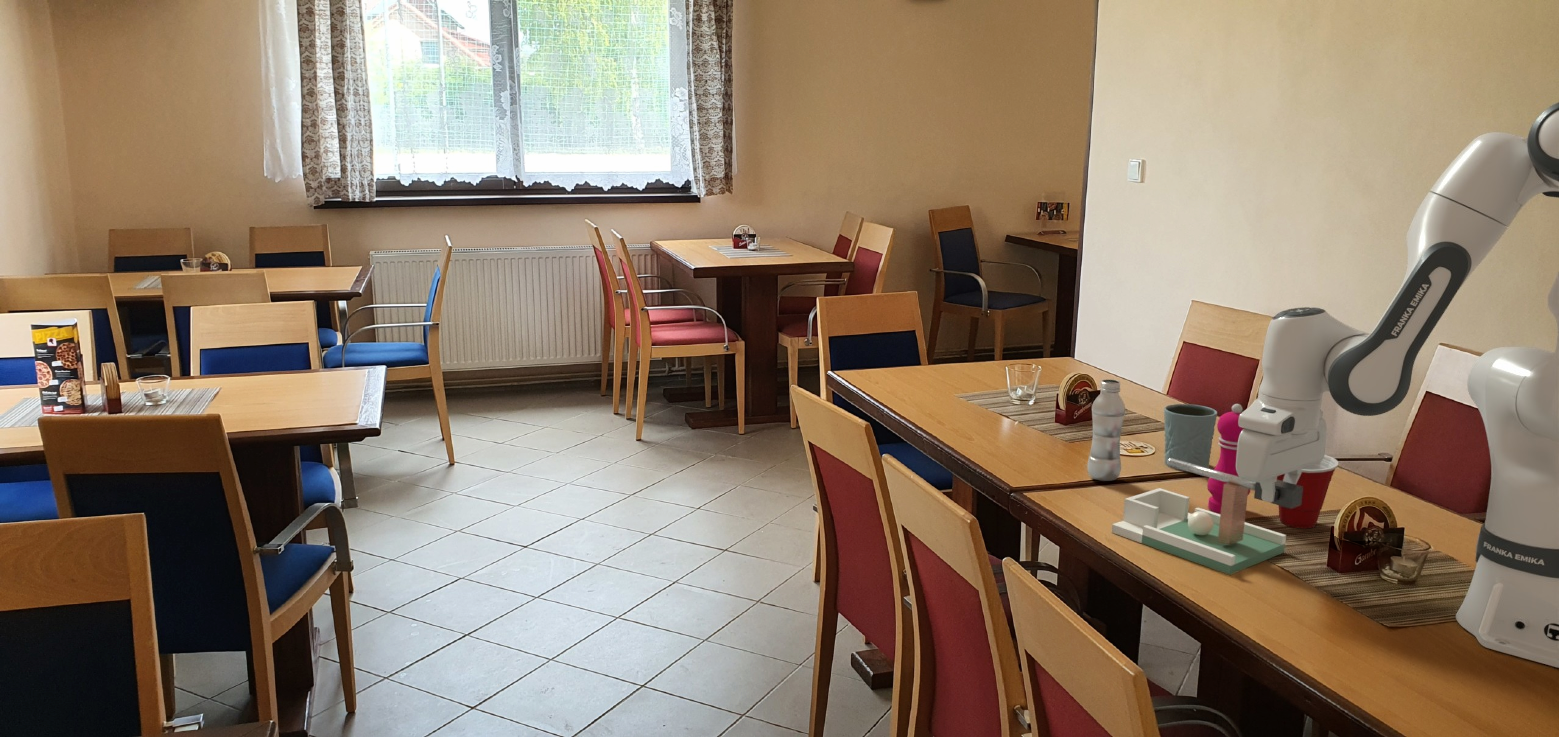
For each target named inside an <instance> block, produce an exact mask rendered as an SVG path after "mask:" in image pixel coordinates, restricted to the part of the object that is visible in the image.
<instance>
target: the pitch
mask: <svg viewBox="0 0 1559 737" xmlns="http://www.w3.org/2000/svg"><path fill="white" fill-rule="evenodd" d="M1123 505H1124V506H1123V515H1122V516H1123V518H1122V521H1118V522H1115V523H1111V533H1112V534H1114V535H1118V536H1120V537H1123V538H1126V539H1129V540H1132V541H1135V542H1136V543H1140V544H1142V545H1145V546H1149V547H1150V548H1154V549H1156V550H1160V551H1161V552H1162V551H1163V552H1165V553H1168V554H1170V555H1171V554H1172V555H1174V556H1175V557H1179V558H1181V559H1184V560H1186V561H1191V562H1193V563H1196V564H1198V565H1201V566H1203V567H1207V568H1210V569H1213V570H1215V571H1218V572H1221V573H1224V574H1226V575H1228V576H1230V575H1233V574H1236V573H1238V572H1240V571H1243V570H1245V569H1248V568H1250V567H1252V566H1254V565H1257V564H1260V563H1262V562H1264V561H1266V560H1269V559H1271V558H1273V557H1276V556H1278V555H1281V554H1284V553H1285V548H1286V539H1287V534H1284V533H1282V532H1277V531H1275V530H1271V529H1269V528H1268V529H1267V528H1264V527H1261V526H1259V525H1255V524H1252V523H1249V522H1246V521H1245V524H1244V533H1243V540H1242V541H1239V542H1236V543H1234V544H1231V545H1227V544H1224V543H1221V542H1218V534H1219V525H1220V515H1221V514H1219V513H1216V512H1213V511H1211V510H1209V509H1208V510H1207V509H1204V508H1201V507H1196V508H1194V513H1195V512H1198V511H1202V512H1205V513H1207V514H1209V515H1210V516H1211V518H1212V519H1213V529H1212V530H1211V532H1210V533H1208V534H1206V535H1196V534H1194V533H1193V532H1192V531H1191V530H1190V529H1189V527H1188V519H1189V517H1190V516H1191V515H1192V514H1193V513H1190V512H1189V508H1190V496H1186V495H1184V494H1183V495H1182V494H1180V493H1177V492H1175V491H1174V492H1173V491H1170V490H1167V489H1164V488H1160V487H1159V488H1156V489H1155V488H1154V489H1152V490H1149V491H1145V492H1143V493H1140V494H1136V495H1132V496H1129V497H1127V498H1124V504H1123Z"/></svg>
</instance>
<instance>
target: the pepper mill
mask: <svg viewBox="0 0 1559 737" xmlns="http://www.w3.org/2000/svg"><path fill="white" fill-rule="evenodd" d="M1242 412H1243V406H1242V405H1241V404H1240V403H1235V404H1232V406H1231V411H1229V412H1225V413H1222V415H1221V416H1220V417H1219V418H1218V420H1217V423H1216V424H1217V425H1216V428H1217V431H1218V433H1219V434H1220V436H1219V437H1218V442H1217V444H1218V446H1220V454H1219V459H1218V461H1217V463H1216V466H1215V467H1214V469H1213V470H1216V471H1220V472H1223V473H1227V474H1230V475H1234V476H1238V474H1237V471H1236V456H1237V446H1238V439H1239V435H1240V433H1241V431H1242V430H1243V429H1244V428H1242V427H1239V425H1238V421H1239V416H1240V414H1241V413H1242ZM1238 477H1239V476H1238ZM1226 483H1227V482H1224V481H1220V480H1217V479H1213V478H1210V477H1208V481H1207V484H1206V485H1207V490H1208V492H1209V493H1210V494H1211V496H1210V497H1209V498H1208V502H1207V503H1208V504H1207V507H1208V510H1209V511H1211V512H1214V513H1217V514H1220V515H1221V506H1222V496H1223V487H1224V484H1226ZM1250 493H1251V489H1248V496H1249V495H1250Z"/></svg>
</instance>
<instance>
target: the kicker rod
mask: <svg viewBox="0 0 1559 737" xmlns="http://www.w3.org/2000/svg"><path fill="white" fill-rule="evenodd" d="M1167 464H1168V465H1169V466H1171V467H1175V468H1178V469H1182V470H1185V471H1184V472H1188V471H1189V472H1190V473H1193V474H1196V475H1200V476H1204V477H1206V478H1209V477H1210V478H1213V479H1217V480H1220V481H1224V482H1227V483H1226V484H1224V487H1223V496H1222V506H1221V514H1220V525H1219V534H1218V542H1221V543H1224V544H1227V545H1231V544H1234V543H1236V542H1239V541H1242V540H1243V533H1244V524H1245V522H1246V514H1247V503H1248V497H1249V495H1248V489H1250V490H1251V491H1252V490H1253V491H1254V496H1253V499H1254V500H1255V499H1256V500H1259V501H1263V500H1262V488H1261V485H1260V482H1253V481H1249V480H1246V479H1242V478H1240V477H1238V476H1234V475H1230V474H1227V473H1223V472H1220V471H1216V470H1214V469H1212V468H1209V467H1208V468H1205V467H1202V466H1198V465H1195V464H1191V463H1187V462H1184V461H1180V460H1177V459H1173V458H1169V459H1168V460H1167ZM1189 472H1188V473H1189ZM1274 483H1275V490H1277V491H1278V495H1277V500H1276V501H1274V502H1271V503H1270V504H1273V505H1277V506H1278V507H1279V506H1283V507H1286V508H1289V509H1292V508H1295V507H1297V506H1300V505H1301V501H1302V493H1303V487H1302V486H1299V485H1295V484H1291V483H1288V482H1284V481H1280V480H1277V481H1276V482H1274ZM1263 502H1264V501H1263Z"/></svg>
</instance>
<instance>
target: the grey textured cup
mask: <svg viewBox="0 0 1559 737" xmlns="http://www.w3.org/2000/svg"><path fill="white" fill-rule="evenodd" d="M1163 412H1164V413H1163V414H1164V416H1163V417H1164V465H1165V466H1167V467H1168V468H1170V469H1173V470H1175V471H1182V472H1186V471H1185V470H1182V469H1178V468H1175V467H1171V466H1169V465H1168V464H1167V460H1168V459H1169V458H1173V459H1177V460H1180V461H1184V462H1187V463H1191V464H1195V465H1198V466H1202V467H1205V468H1209V467H1210V459H1211V453H1212V451H1211V450H1212V448H1213V447H1212V445H1213V439H1214V434H1215V426H1216V424H1217V423H1216V422H1217V417H1218V411H1217V410H1215V409H1214V408H1211V407H1208V406H1204V405H1198V404H1189V403H1175V404H1170V405H1166V406H1165V407H1164V409H1163ZM1187 473H1189V471H1187Z"/></svg>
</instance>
